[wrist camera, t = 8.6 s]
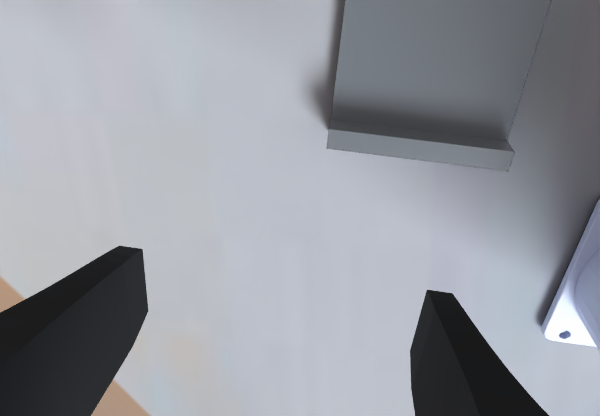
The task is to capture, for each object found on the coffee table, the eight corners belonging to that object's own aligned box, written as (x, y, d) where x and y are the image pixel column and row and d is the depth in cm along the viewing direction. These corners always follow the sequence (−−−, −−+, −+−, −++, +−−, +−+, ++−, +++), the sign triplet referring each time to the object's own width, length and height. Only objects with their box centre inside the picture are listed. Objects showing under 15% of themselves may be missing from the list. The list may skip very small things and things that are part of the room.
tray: (566, -70, 16) (588, -71, 14) (497, 153, 20) (508, 171, 18) (356, -89, 16) (355, -93, 15) (329, 133, 20) (326, 148, 19)
